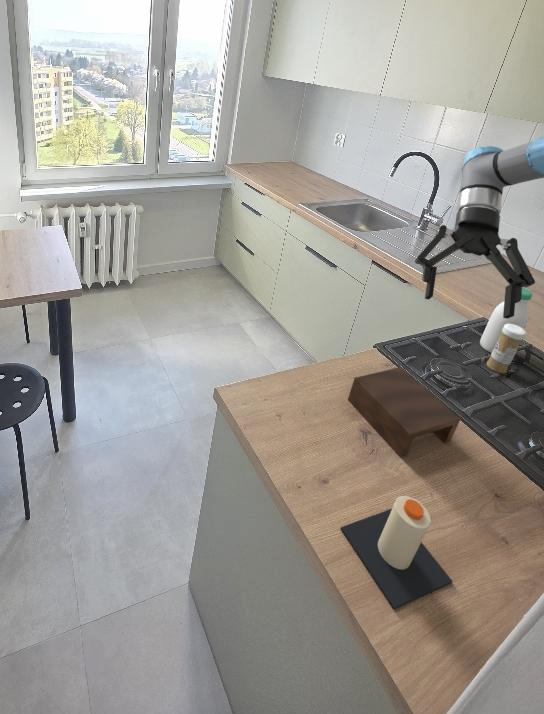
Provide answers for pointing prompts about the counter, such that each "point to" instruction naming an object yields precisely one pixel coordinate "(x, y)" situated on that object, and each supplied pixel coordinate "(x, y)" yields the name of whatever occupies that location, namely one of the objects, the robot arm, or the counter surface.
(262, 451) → the counter surface
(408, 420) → the shelf
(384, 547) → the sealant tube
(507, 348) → the sprinkles bottle
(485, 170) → the robot arm
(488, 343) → the milk bottle
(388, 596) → the mat
